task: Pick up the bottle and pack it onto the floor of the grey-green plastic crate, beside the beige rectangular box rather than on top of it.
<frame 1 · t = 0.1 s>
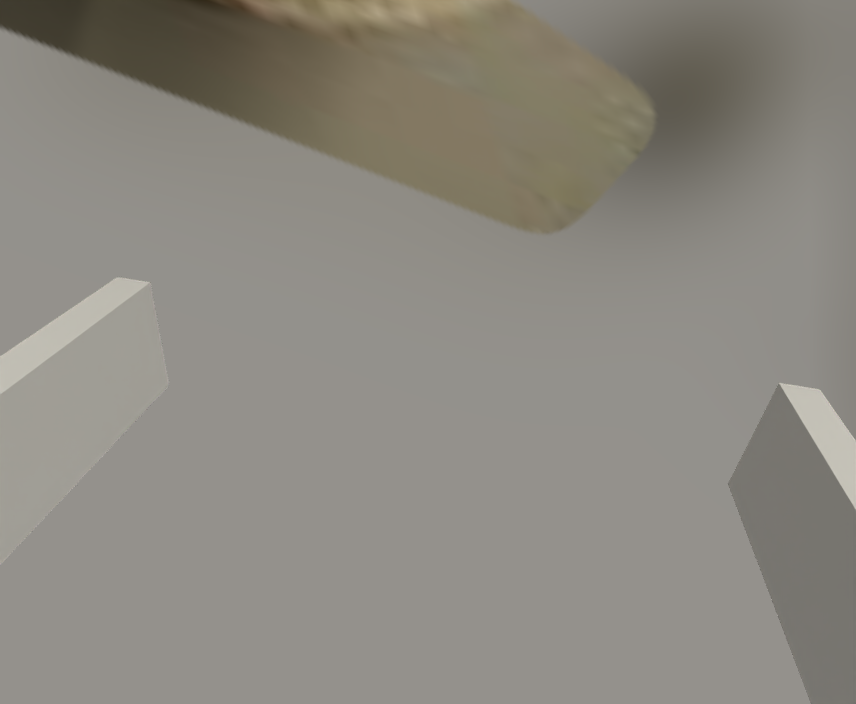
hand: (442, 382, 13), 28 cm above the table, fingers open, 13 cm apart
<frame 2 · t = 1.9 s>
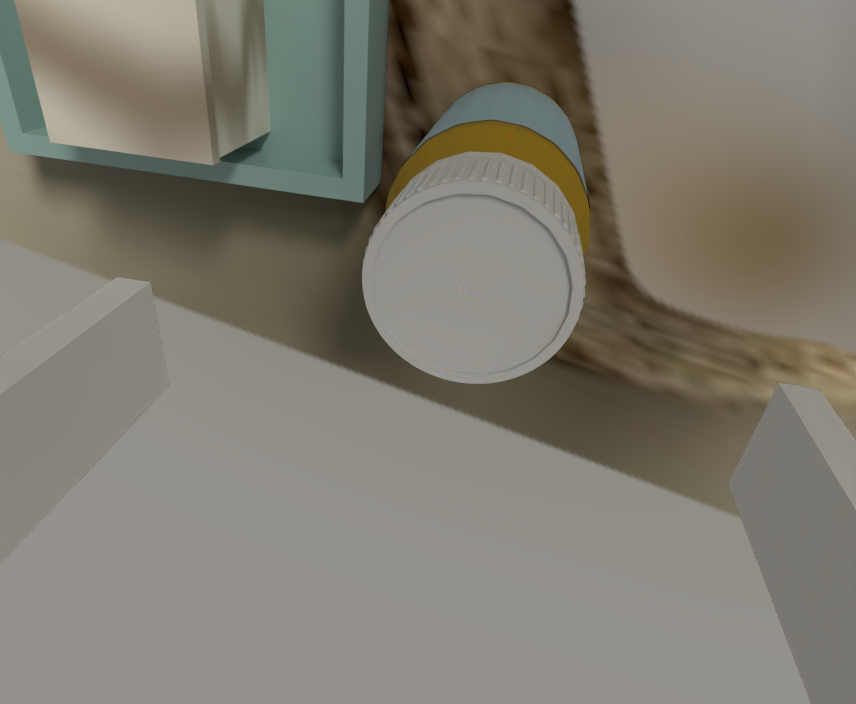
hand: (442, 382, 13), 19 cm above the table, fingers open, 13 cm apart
bottle: (503, 156, 29), on the table
beige rectangular box: (196, 55, 28), point 1 cm above the table, touching tote
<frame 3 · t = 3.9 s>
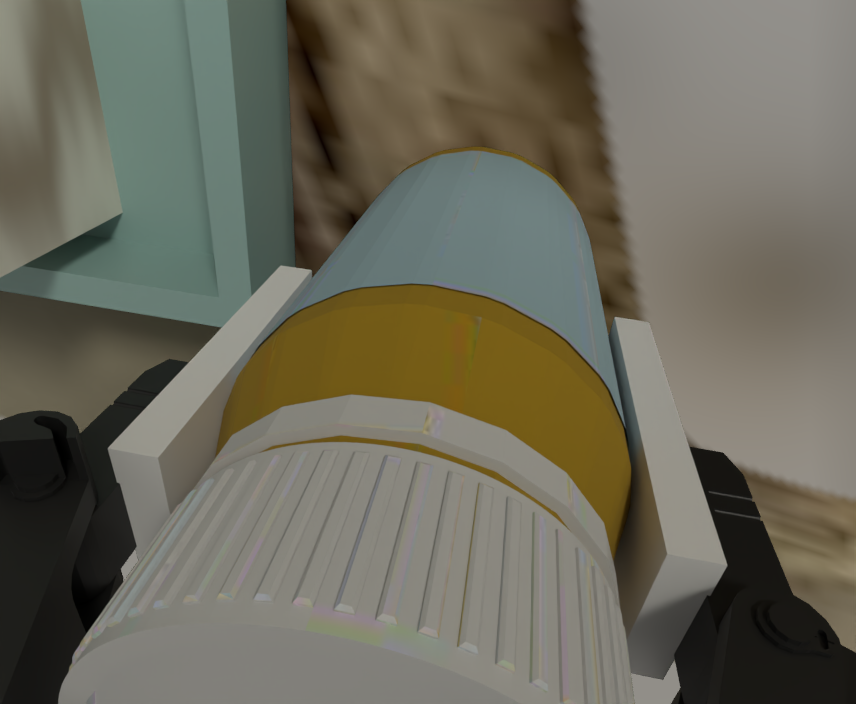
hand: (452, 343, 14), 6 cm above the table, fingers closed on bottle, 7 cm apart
bottle: (475, 252, 19), on the table, touching gripper
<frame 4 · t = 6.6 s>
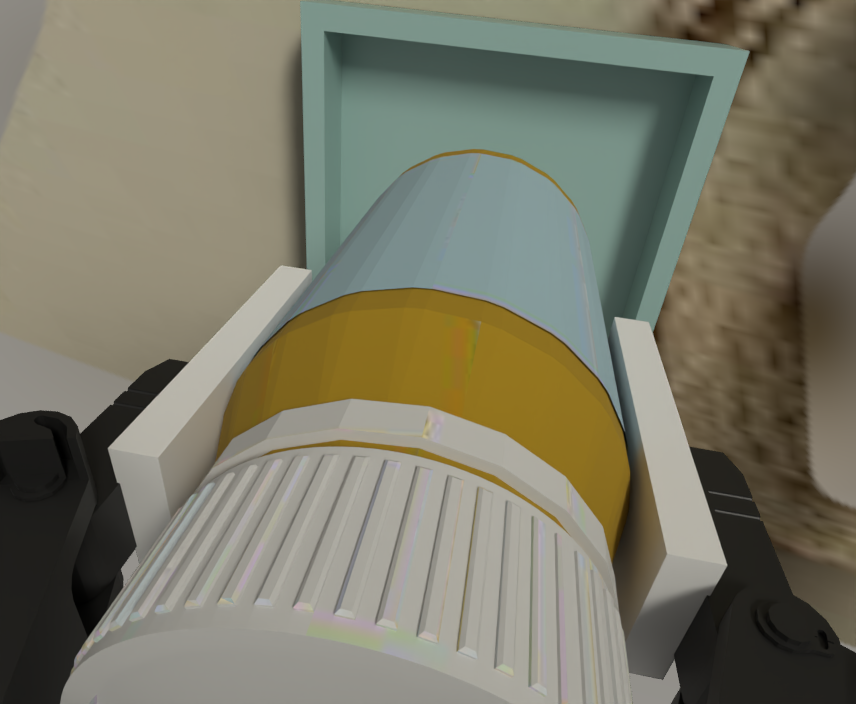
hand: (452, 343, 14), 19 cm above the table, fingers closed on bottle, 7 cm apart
bottle: (475, 254, 19), point 13 cm above the table, touching gripper
tote: (487, 232, 32), on the table
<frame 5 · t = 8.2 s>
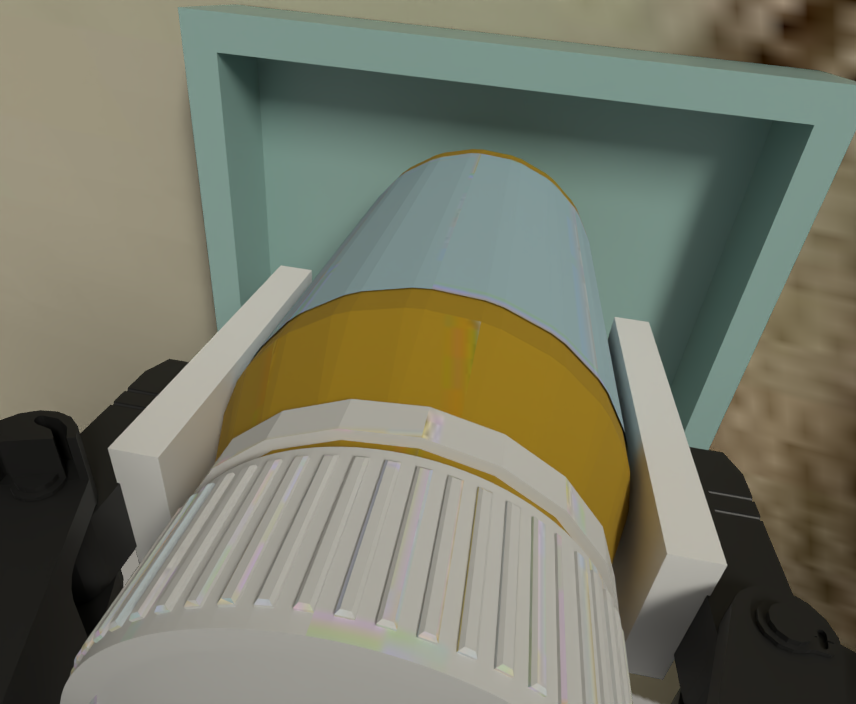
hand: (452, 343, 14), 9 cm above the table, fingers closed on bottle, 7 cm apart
bottle: (475, 254, 19), point 3 cm above the table, touching gripper
tote: (471, 318, 23), on the table
when the fingers open (7 cm above the table, at t = 9.3 s): bottle drops 1 cm, resting on tote.
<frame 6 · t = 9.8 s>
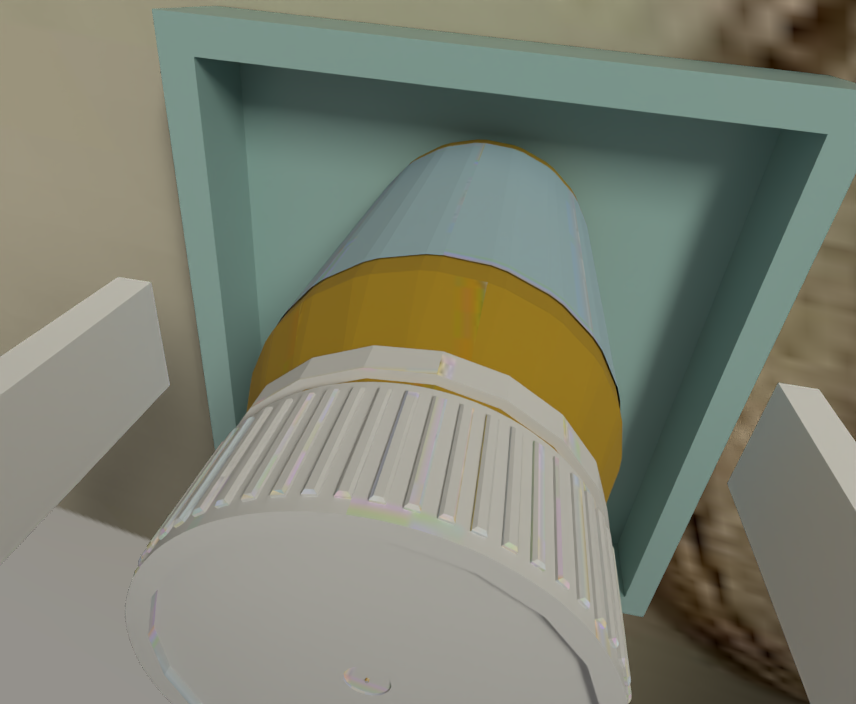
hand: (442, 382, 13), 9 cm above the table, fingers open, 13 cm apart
bottle: (479, 241, 20), point 1 cm above the table, touching tote
tote: (466, 332, 22), on the table
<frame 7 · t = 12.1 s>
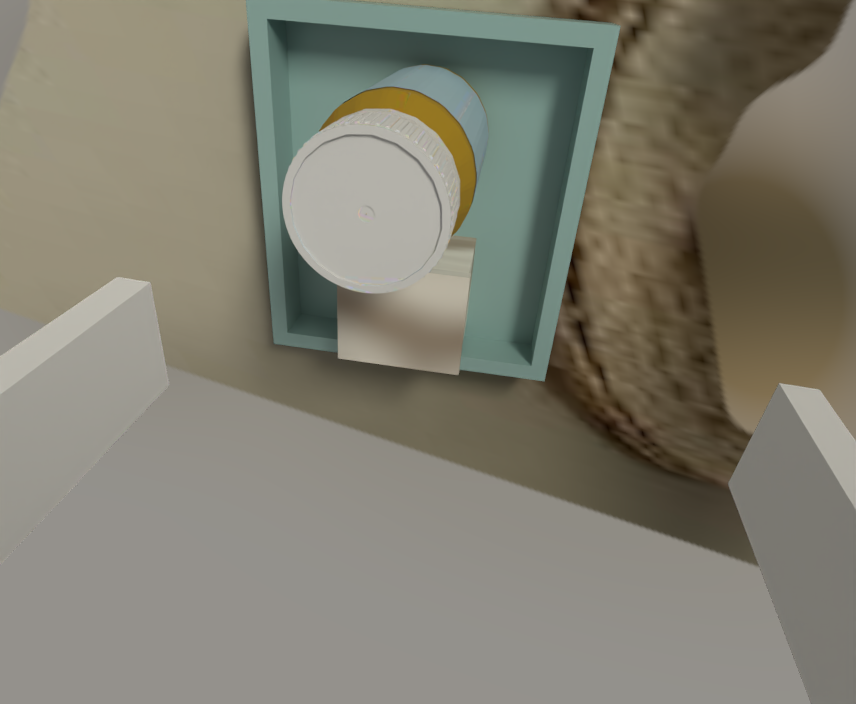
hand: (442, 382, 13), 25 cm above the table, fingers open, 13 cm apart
bottle: (428, 130, 33), point 1 cm above the table, touching tote
beige rectangular box: (417, 275, 38), point 1 cm above the table, touching tote
tote: (424, 195, 36), on the table
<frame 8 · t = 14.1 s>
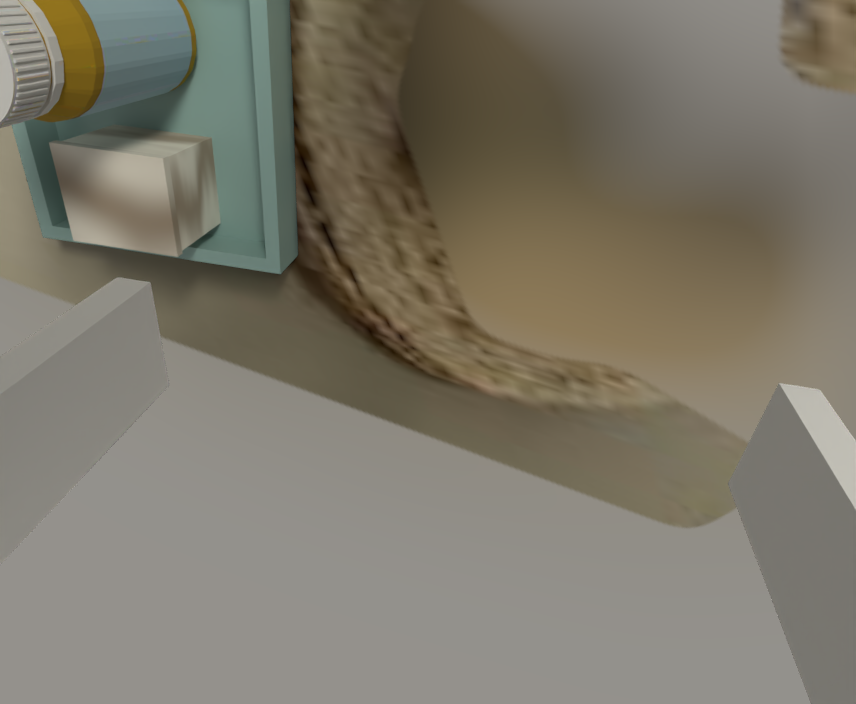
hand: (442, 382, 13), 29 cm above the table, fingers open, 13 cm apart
bottle: (150, 31, 37), point 1 cm above the table, touching tote
beige rectangular box: (169, 175, 41), point 1 cm above the table, touching tote
tote: (164, 97, 39), on the table
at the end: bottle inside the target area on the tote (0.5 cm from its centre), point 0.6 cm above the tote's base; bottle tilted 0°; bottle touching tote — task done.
